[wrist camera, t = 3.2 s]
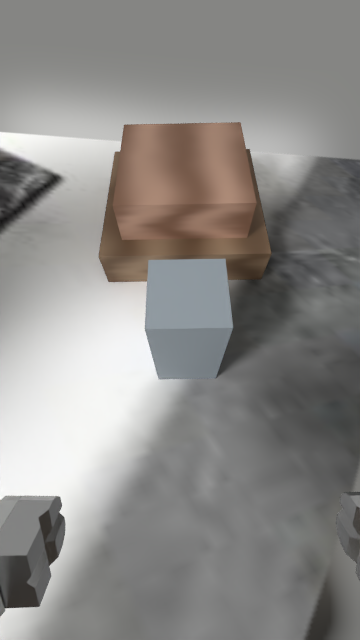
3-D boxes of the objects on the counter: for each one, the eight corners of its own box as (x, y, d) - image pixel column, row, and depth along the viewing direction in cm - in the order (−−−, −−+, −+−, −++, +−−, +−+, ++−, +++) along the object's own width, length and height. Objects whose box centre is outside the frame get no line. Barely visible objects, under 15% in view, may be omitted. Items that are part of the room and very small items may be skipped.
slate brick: (158, 379, 25) (144, 329, 16) (159, 328, 27) (148, 259, 18) (215, 378, 25) (233, 327, 16) (211, 327, 27) (225, 258, 18)
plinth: (108, 281, 30) (85, 223, 23) (121, 181, 37) (106, 114, 30) (261, 279, 30) (285, 219, 23) (243, 179, 37) (257, 111, 30)
